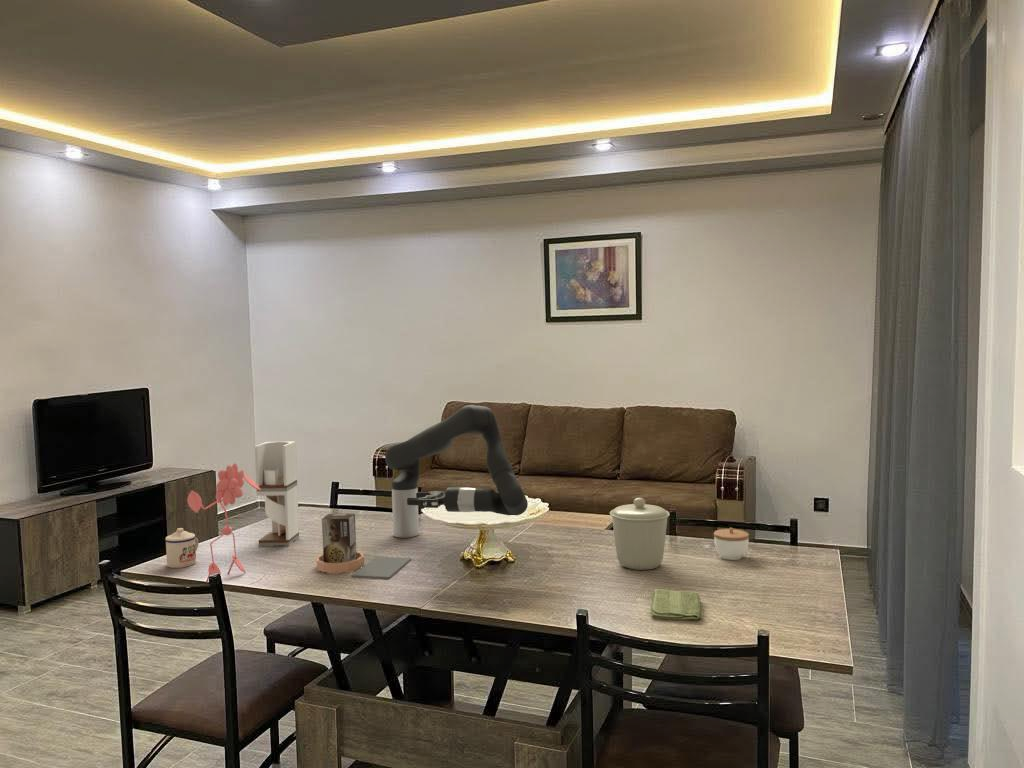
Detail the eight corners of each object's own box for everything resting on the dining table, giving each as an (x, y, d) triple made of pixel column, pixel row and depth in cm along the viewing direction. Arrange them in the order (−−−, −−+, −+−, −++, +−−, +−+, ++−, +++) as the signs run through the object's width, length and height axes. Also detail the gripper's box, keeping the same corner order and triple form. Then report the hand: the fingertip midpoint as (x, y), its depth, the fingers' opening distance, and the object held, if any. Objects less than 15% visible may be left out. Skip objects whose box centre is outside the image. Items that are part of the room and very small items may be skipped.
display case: (270, 537, 281) (266, 441, 279) (299, 537, 281) (295, 441, 278) (258, 546, 270) (254, 446, 268) (288, 545, 269) (285, 445, 267)
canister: (678, 562, 241) (678, 495, 240) (655, 578, 226) (655, 506, 225) (625, 554, 251) (625, 489, 250) (600, 568, 236) (599, 500, 235)
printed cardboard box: (357, 563, 246) (356, 513, 245) (351, 569, 240) (349, 518, 239) (329, 563, 247) (328, 513, 246) (322, 569, 241) (321, 518, 240)
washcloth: (649, 621, 193) (649, 608, 193) (651, 598, 210) (651, 586, 210) (703, 624, 190) (703, 611, 190) (701, 600, 207) (701, 588, 207)
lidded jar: (713, 560, 242) (712, 531, 241) (714, 551, 252) (714, 523, 251) (748, 563, 239) (748, 533, 238) (749, 553, 249) (749, 525, 248)
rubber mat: (376, 558, 252) (376, 556, 252) (411, 559, 249) (411, 557, 249) (351, 577, 232) (351, 575, 232) (389, 578, 230) (389, 576, 230)
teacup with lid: (182, 569, 243) (180, 533, 243) (159, 567, 246) (158, 531, 246) (209, 559, 255) (207, 524, 254) (187, 556, 258) (185, 522, 257)
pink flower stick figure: (182, 591, 222) (179, 470, 220) (244, 566, 246) (242, 456, 244) (224, 597, 216) (222, 473, 214) (284, 571, 240) (282, 459, 238)
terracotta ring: (329, 558, 252) (328, 549, 252) (370, 560, 249) (370, 551, 249) (308, 572, 238) (308, 562, 238) (352, 574, 235) (352, 564, 235)
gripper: (467, 483, 245) (418, 482, 248) (455, 492, 231) (403, 491, 234) (468, 506, 245) (419, 505, 249) (456, 517, 231) (404, 515, 235)
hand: (412, 498), depth 241 cm, fingers open, 8 cm apart
